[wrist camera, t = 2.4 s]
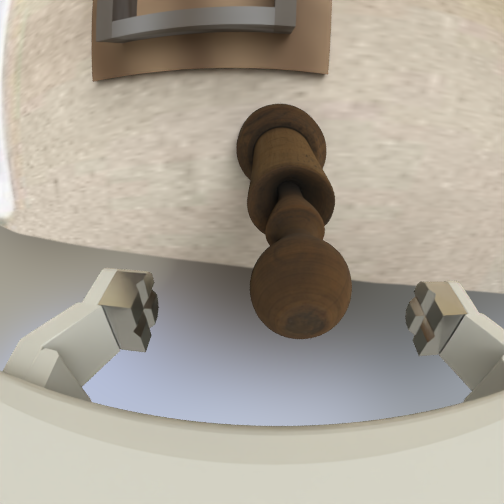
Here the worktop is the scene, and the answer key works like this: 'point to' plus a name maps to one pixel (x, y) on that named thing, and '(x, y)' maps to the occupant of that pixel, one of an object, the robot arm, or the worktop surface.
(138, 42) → the holder board
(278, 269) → the wooden pepper mill
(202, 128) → the worktop surface
